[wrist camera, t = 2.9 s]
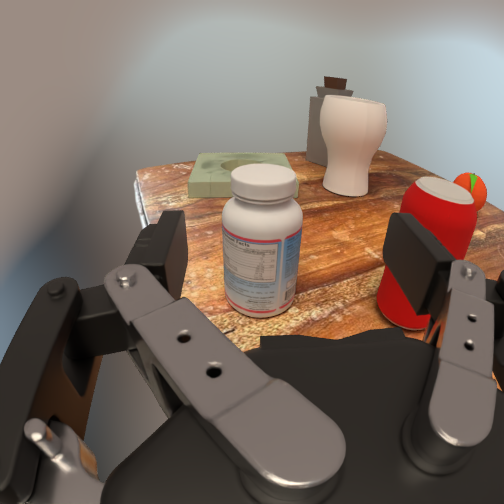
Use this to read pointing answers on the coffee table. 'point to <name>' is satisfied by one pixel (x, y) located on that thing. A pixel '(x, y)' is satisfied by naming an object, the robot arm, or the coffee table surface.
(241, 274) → the pill bottle
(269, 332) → the coffee table surface
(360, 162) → the cup
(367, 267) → the coffee table surface
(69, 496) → the robot arm
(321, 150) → the perfume bottle
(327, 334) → the coffee table surface
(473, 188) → the clementine
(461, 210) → the beverage can
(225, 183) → the hole plate
